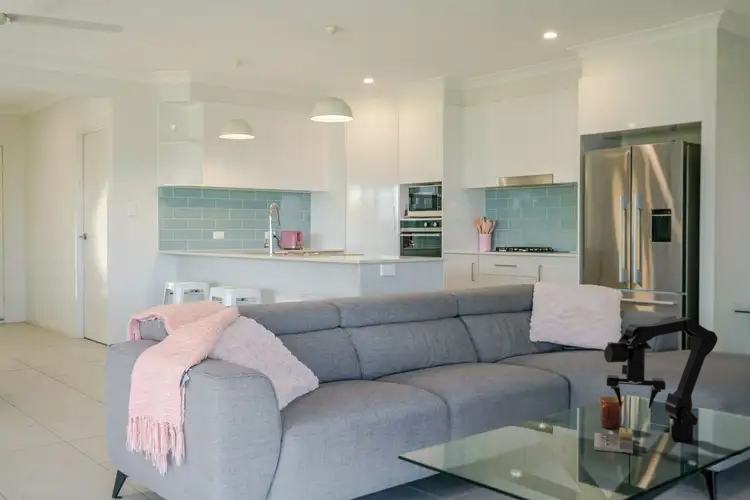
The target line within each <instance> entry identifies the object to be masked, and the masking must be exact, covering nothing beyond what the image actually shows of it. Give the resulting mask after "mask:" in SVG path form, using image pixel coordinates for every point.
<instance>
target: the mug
mask: <svg viewBox="0 0 750 500" xmlns="http://www.w3.org/2000/svg"><path fill="white" fill-rule="evenodd" d="M598 401H599V405H600V419H599V420H600V425H601V426H602V428H604V429H608V430H619V429H620V427H621V428H622V422H623V419H622V418H623V412H622V410H623V405H624V401H625V400H624V399H623V398H622V397H621V406H620V404H619V401H618V398H617V396H609V395H605V396H600V397H599V398H598Z"/></svg>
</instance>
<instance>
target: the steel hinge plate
mask: <svg viewBox="0 0 750 500" xmlns="http://www.w3.org/2000/svg"><path fill="white" fill-rule="evenodd" d="M593 438H594V441H593V442H594V444H593V450H594V451H602V452H614V453H622V452H626V454H634V449H633V448H634V442H633V440H632V441H626V440H620V444H619V434H615V433H603V432H601V433H600V432H594V437H593Z"/></svg>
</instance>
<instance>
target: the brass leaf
mask: <svg viewBox="0 0 750 500" xmlns="http://www.w3.org/2000/svg"><path fill="white" fill-rule="evenodd" d="M618 435H619V444H620V440H626V441H633V428H632V427H631V428H629V427H622V426H621V427H620V428H618Z"/></svg>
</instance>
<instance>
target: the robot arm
mask: <svg viewBox="0 0 750 500" xmlns="http://www.w3.org/2000/svg"><path fill="white" fill-rule="evenodd" d="M624 330H625V331H624V332H623V333H622V335H621V337H620V338H619V340H617V342H612V341H608V342H607V345H606V347H605V349H604V351H603V355H604V359H605V362H607V363H610V364H611V363H625V362H626V364H622V365H621V375H622V376H623V375H624V376H625V375H626V378H622V377H621V378H620V376H619V375H616V374H608V375H607V376H606V386H607V387H610V390H611V389H612V390H613V391H614V392H615V395H616V397H617V398H618V401H619V404H620V406H621V398H622V395H621V388H620V385H629V386H630V385H634V386H647V387H650V393H649V400H648V410H649V409H651V407H652V405H653V402H654V400H655V398H656V396H657V394H658V393H662V391H664V390H666V387H667V386H666V383H667V382H666V380H665V379H664V378H661V377H652V378H651V379H645V378H646V377H645V375H646V374H645V373H646V368H645V367H646V365H645V364H646V350H651V349H652V346H651V345H650V344H649V343H648V341H651V340H652V339H654V338H655V337H658V336H662V335H663V336H664V335H668V334H672V333H678V332H679V333H680V332H684V333H685V334H686V335H688V336H689V337H690V340H689V348H690V354H688V355H689V356H688V358H687V361H686V364H685V367H684V369H683V372H682V375H681V378H680V380H679V383H678V386H677V389H676V390H675V391H674V392H673V393H671V392H668V394H667V397H666V400H665V401H664V404H665V405H664V406H665V407H664V410H665V412H666V413H667V414H668V417H669V419H670V420H672V423H670V437H671V439H672V441H674V442H681V443H694V442H695V441H694V426H697V423H698V421H699V418H697V417H696V415H694V414H693V412H692V410H693V399H692V394H693V392H694V389H695V387H696V383H697V381H698V379H699V375H700V373H701V371H702V367H703V365H704V362H705V360H706V357H707V356H708V355H709V354H710V353H711V352H712V351H713V350H714V348H715V346H716V345H717V342H718V336H717V333H715V332H714V331H713V330H709V329H707V328H705V327H703V326H702V325H700V324H699V323H697V322H696V321H695V320H693V319H692V318H689V317H685V316H682V317H680V318H675V319H670V320H666V321H661V322H655V323H651V324H650V323H630V324H628V325H627V326H626V328H625V329H624Z"/></svg>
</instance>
